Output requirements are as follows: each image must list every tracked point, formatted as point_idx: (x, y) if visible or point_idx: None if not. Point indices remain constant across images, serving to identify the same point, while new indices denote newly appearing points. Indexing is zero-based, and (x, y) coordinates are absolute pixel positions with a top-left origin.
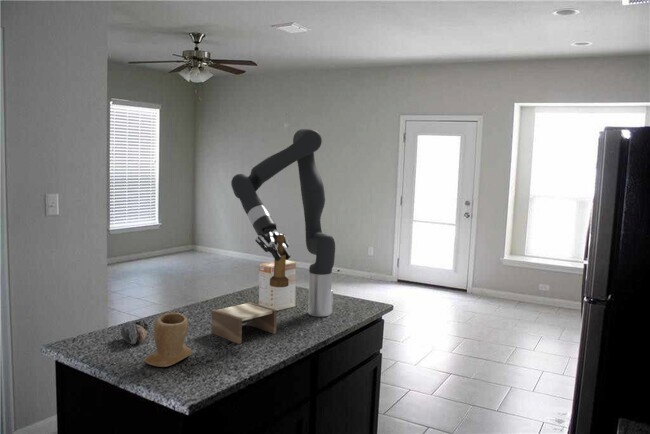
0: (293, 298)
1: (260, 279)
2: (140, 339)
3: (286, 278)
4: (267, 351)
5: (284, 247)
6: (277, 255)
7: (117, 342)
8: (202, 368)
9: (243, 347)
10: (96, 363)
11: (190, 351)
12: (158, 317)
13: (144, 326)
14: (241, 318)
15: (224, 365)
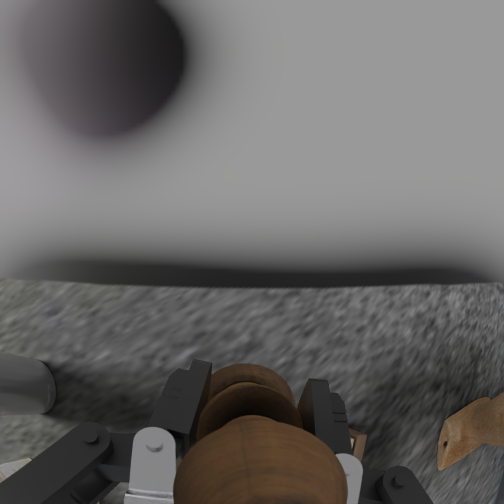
0: (21, 463)
1: None
2: None
3: (232, 373)
4: (340, 343)
5: (175, 442)
6: (329, 407)
7: None
8: (458, 365)
9: (353, 400)
10: (499, 471)
11: (451, 419)
12: None
13: None
14: (353, 440)
15: (434, 350)
